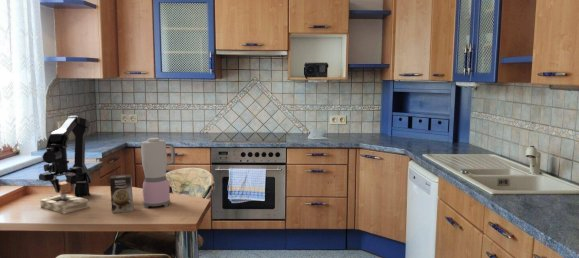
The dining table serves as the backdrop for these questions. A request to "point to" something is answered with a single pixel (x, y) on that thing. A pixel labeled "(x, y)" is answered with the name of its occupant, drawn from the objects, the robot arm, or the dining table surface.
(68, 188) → the wooden block metal peg
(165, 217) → the dining table surface
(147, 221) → the dining table surface
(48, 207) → the keyhole box
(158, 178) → the blender
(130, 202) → the coffee box
